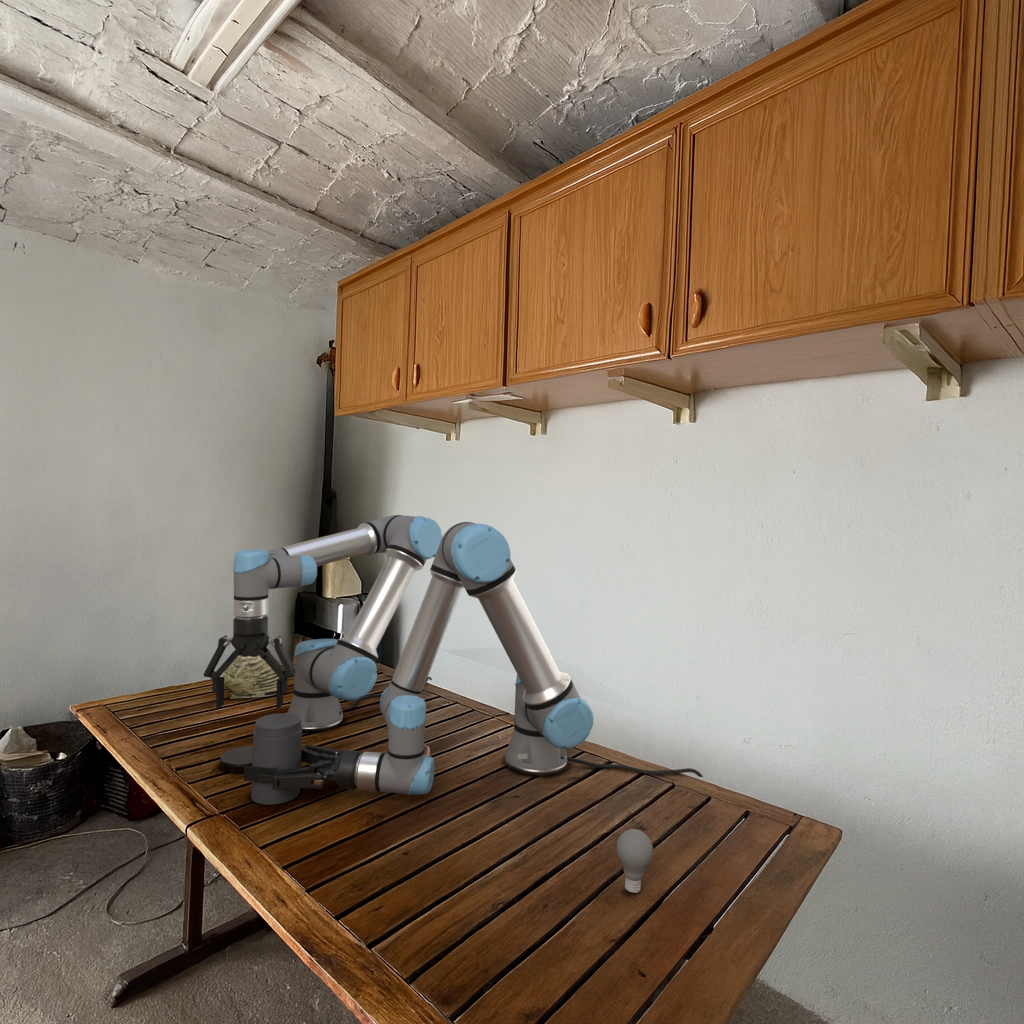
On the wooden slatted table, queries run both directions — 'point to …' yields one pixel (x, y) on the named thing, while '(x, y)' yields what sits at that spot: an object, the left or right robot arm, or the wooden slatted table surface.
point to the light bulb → (634, 857)
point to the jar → (276, 754)
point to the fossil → (250, 678)
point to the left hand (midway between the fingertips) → (250, 706)
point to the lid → (236, 759)
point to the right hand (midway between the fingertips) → (256, 762)
